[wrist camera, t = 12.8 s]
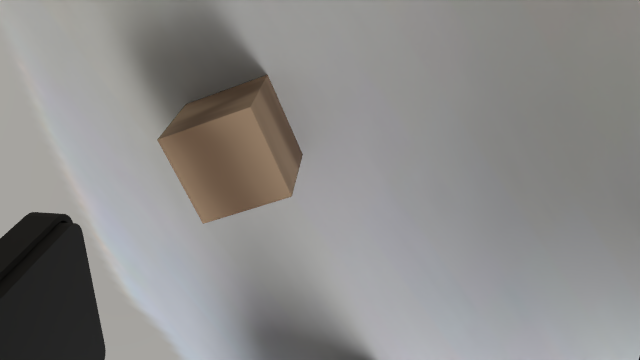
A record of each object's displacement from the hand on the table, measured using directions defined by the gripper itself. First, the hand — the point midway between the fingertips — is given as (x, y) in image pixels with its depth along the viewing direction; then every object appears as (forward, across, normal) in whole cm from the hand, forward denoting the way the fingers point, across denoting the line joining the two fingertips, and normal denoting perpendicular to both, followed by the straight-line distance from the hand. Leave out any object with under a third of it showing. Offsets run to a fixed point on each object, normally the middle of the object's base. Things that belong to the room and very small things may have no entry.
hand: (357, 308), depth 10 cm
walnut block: (+23, +8, +6) cm, 25 cm away
